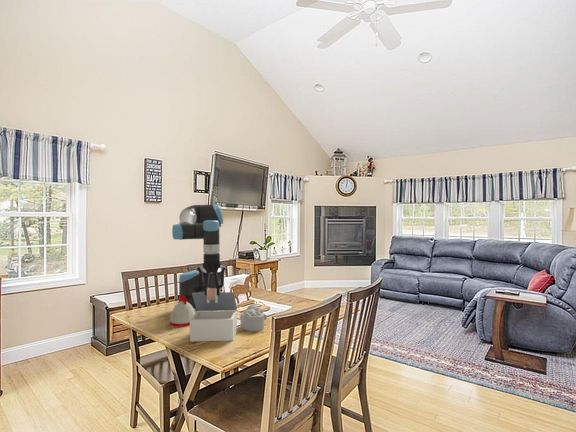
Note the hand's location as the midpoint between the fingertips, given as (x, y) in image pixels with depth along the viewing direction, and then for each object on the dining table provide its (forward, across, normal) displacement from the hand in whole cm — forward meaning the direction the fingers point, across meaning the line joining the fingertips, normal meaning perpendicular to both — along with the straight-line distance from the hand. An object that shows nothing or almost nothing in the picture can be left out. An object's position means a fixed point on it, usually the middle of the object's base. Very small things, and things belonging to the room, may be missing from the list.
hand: (212, 302), depth 164 cm
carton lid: (+3, 0, +1) cm, 4 cm away
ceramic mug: (+18, +19, +29) cm, 39 cm away
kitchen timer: (+18, -21, +25) cm, 37 cm away
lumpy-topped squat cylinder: (+18, +18, +15) cm, 29 cm away
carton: (+17, 0, +4) cm, 18 cm away
